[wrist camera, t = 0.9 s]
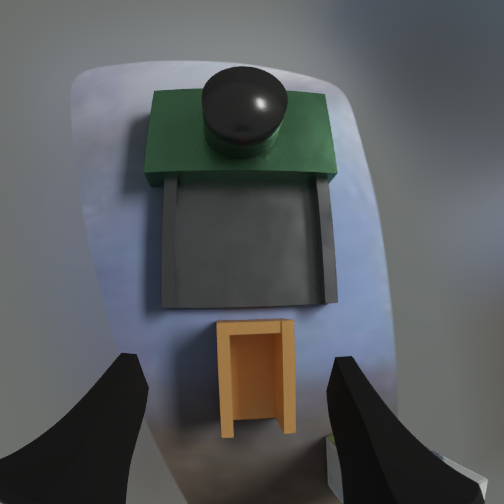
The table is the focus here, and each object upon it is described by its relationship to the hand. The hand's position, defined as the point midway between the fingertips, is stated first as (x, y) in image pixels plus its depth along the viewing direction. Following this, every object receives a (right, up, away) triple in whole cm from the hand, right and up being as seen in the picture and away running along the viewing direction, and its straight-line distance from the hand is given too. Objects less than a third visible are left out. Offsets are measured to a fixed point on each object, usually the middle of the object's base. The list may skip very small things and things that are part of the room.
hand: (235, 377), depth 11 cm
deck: (0, +9, +15) cm, 18 cm away
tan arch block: (+1, -5, +13) cm, 14 cm away
